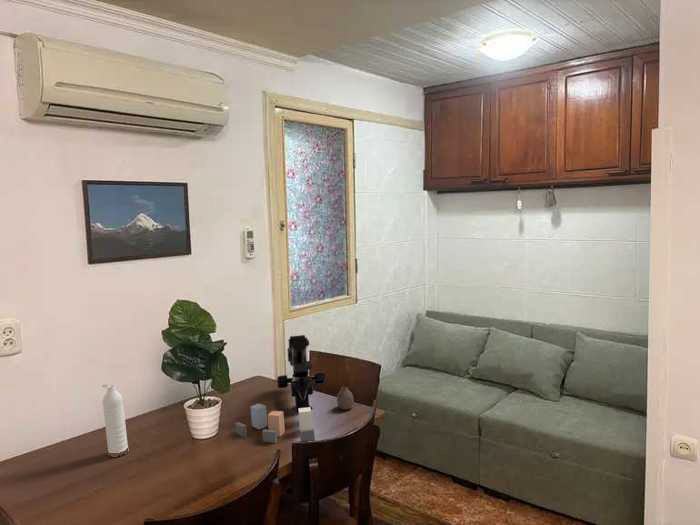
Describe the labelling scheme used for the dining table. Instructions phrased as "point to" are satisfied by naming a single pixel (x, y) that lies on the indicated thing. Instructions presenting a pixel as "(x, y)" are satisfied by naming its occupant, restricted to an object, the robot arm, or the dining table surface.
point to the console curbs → (274, 433)
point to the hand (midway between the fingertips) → (303, 400)
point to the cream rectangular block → (305, 418)
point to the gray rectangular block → (258, 416)
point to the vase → (345, 399)
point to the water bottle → (114, 420)
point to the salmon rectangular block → (276, 422)
